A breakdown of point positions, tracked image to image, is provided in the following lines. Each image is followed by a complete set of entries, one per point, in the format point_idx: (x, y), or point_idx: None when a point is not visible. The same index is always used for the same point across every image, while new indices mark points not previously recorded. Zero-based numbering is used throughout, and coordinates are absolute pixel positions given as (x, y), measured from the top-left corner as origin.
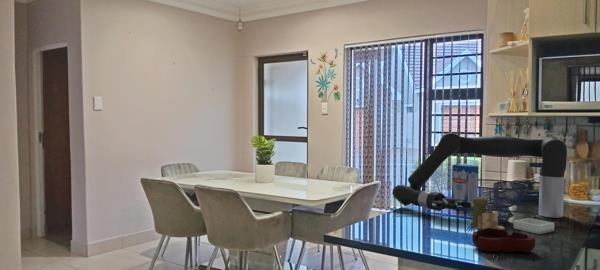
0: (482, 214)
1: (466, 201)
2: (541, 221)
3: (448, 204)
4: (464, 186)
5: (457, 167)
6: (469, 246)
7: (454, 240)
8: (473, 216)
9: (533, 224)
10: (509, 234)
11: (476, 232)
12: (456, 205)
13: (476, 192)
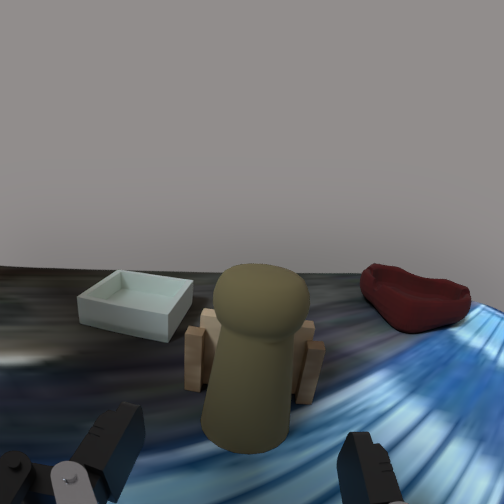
0: (313, 332)
1: None
2: (106, 283)
3: (390, 500)
4: None
5: None
6: (464, 333)
7: (480, 360)
8: (287, 395)
9: (186, 286)
10: (375, 290)
11: (460, 299)
12: (358, 432)
13: None
